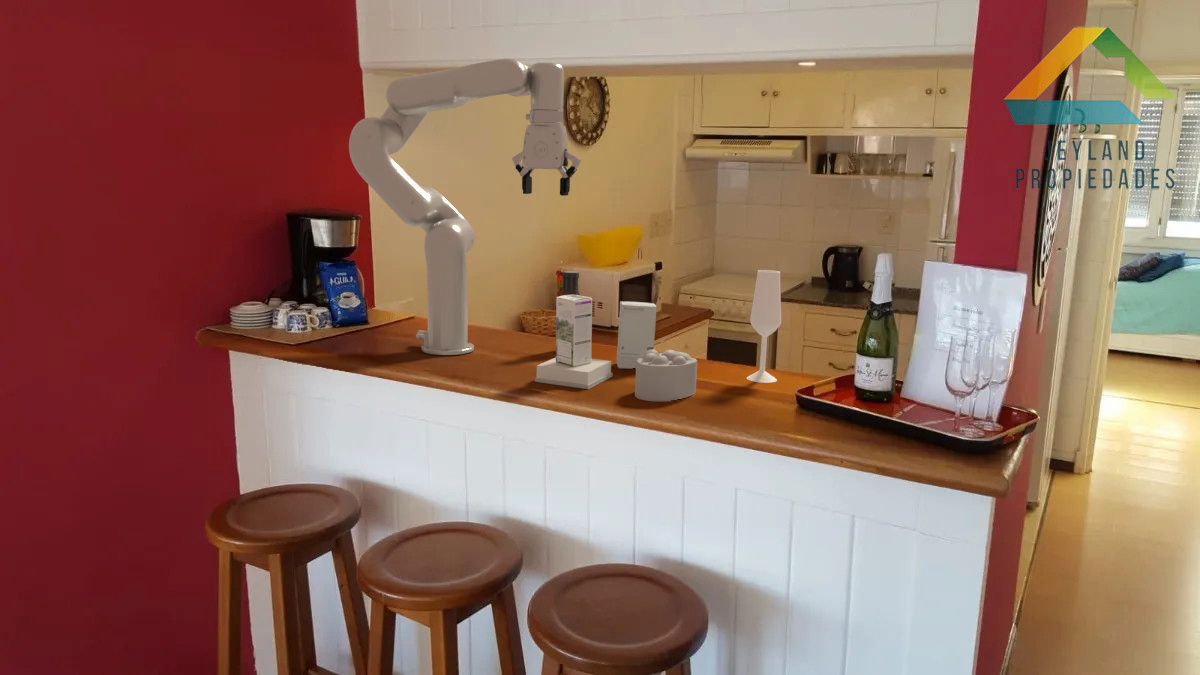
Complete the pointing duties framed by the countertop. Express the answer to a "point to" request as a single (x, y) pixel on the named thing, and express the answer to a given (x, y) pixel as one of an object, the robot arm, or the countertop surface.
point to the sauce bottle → (570, 283)
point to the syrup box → (573, 330)
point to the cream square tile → (574, 373)
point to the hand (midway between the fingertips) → (545, 194)
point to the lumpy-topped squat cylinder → (665, 376)
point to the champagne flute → (765, 316)
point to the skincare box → (635, 332)
